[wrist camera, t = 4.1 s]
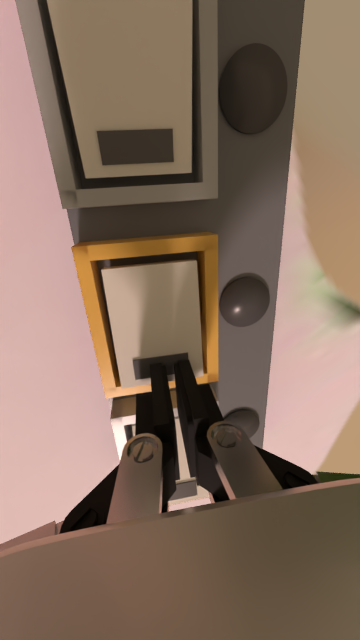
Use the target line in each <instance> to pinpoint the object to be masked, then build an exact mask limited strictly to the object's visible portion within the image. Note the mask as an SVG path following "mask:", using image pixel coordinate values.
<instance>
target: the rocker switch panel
mask: <svg viewBox="0 0 360 640" xmlns="http://www.w3.org/2000/svg"><path fill="white" fill-rule="evenodd" d="M304 1H305V0H192V173H179V174H160V175H141V176H123V177H104V178H85V173H84V169H83V164H82V160H81V155H80V150H79V146H78V141H77V137H76V132H75V128H74V123H73V118H72V114H71V109H70V105H69V100H68V95H67V91H66V86H65V82H64V77H63V73H62V68H61V63H60V59H59V54H58V50H57V45H56V41H55V36H54V31H53V27H52V22H51V18H50V13H49V9H48V4H47V0H15V2H16V6H17V10H18V15H19V19H20V23H21V28H22V32H23V37H24V41H25V45H26V50H27V54H28V59H29V63H30V67H31V72H32V76H33V81H34V85H35V89H36V94H37V98H38V103H39V107H40V111H41V116H42V120H43V125H44V129H45V133H46V138H47V142H48V147H49V151H50V155H51V160H52V164H53V168H54V173H55V177H56V182H57V186H58V190H59V195H60V199H61V204H62V208H63V209H67V213H68V218H69V222H70V227H71V231H72V236H73V240H74V246H72V247H71V248H72V252H73V256H74V261H75V265H76V270H77V274H78V278H79V283H80V287H81V292H82V296H83V300H84V305H85V309H86V314H87V318H88V322H89V327H90V331H91V335H92V340H93V344H94V349H95V353H96V357H97V362H98V366H99V371H100V375H101V379H102V384H103V388H104V393H105V397H106V398H109V402H110V407H111V423H112V428H113V432H114V437H115V441H116V445H117V450H118V454H119V459H120V460H121V455H122V451H123V448H124V445H125V444H126V443H127V441H128V440H130V439H131V438H132V437H133V431H132V424H135V423H136V394H137V393H144V392H152V390H151V384H149V385H142V386H136V387H129V388H121V382H120V376H119V370H118V365H117V359H116V353H115V347H114V341H113V336H112V330H111V324H110V318H109V312H108V306H107V301H106V295H105V289H104V283H103V277H102V272H101V270H102V269H103V268H104V267H113V266H124V265H134V264H145V263H155V262H166V261H176V260H187V259H194V260H197V271H198V288H199V305H200V323H201V340H202V357H203V374H204V376H201V377H195V378H196V381H197V384H198V385H202V384H209V385H210V387H211V390H212V392H213V394H214V397H215V399H216V402H217V404H218V406H219V409H220V411H221V414H222V416H223V419H224V421H230V422H233V423H236V424H237V425H239V426H240V427H241V428H242V429H243V430H244V431H245V433H246V434H247V436H248V437H249V439H250V440H251V442H252V443H253V445H255V446H257V447H259V448H261V449H262V448H263V437H264V427H265V416H266V405H267V395H268V384H269V374H270V363H271V352H272V342H273V331H274V320H275V310H276V299H277V289H278V278H279V267H280V257H281V246H282V236H283V225H284V214H285V204H286V193H287V183H288V172H289V161H290V151H291V140H292V129H293V119H294V108H295V97H296V87H297V76H298V66H299V55H300V44H301V34H302V23H303V13H304ZM168 383H169V388H170V394H171V400H172V406H173V411H174V417H176V416H178V410H177V399H176V386H175V381H168Z"/></svg>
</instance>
